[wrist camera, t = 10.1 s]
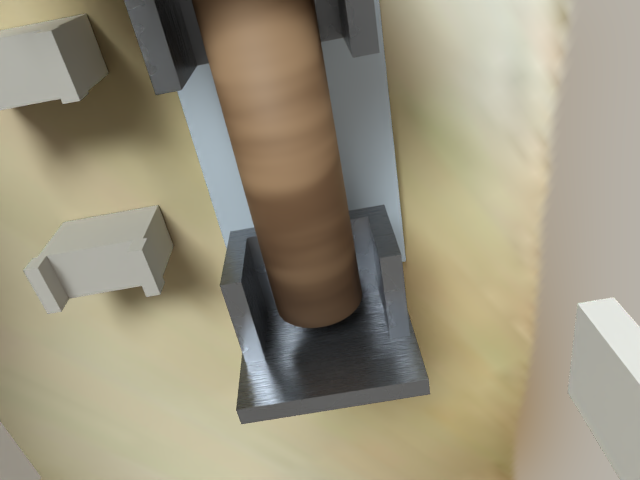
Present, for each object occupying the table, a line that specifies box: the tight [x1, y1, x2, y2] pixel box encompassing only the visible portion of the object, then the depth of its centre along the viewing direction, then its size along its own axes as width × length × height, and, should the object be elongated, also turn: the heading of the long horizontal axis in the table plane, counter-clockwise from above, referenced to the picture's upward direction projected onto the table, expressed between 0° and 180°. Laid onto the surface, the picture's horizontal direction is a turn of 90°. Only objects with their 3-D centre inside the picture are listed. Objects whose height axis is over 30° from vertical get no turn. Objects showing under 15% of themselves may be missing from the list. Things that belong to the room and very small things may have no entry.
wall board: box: [177, 0, 406, 262], centre depth 29 cm, size 11×21×1 cm, turn 10°
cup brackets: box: [124, 0, 430, 424], centre depth 24 cm, size 9×21×12 cm, turn 10°
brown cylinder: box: [192, 0, 362, 328], centre depth 23 cm, size 15×4×4 cm, turn 10°
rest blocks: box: [0, 14, 173, 314], centre depth 28 cm, size 6×14×5 cm, turn 10°
